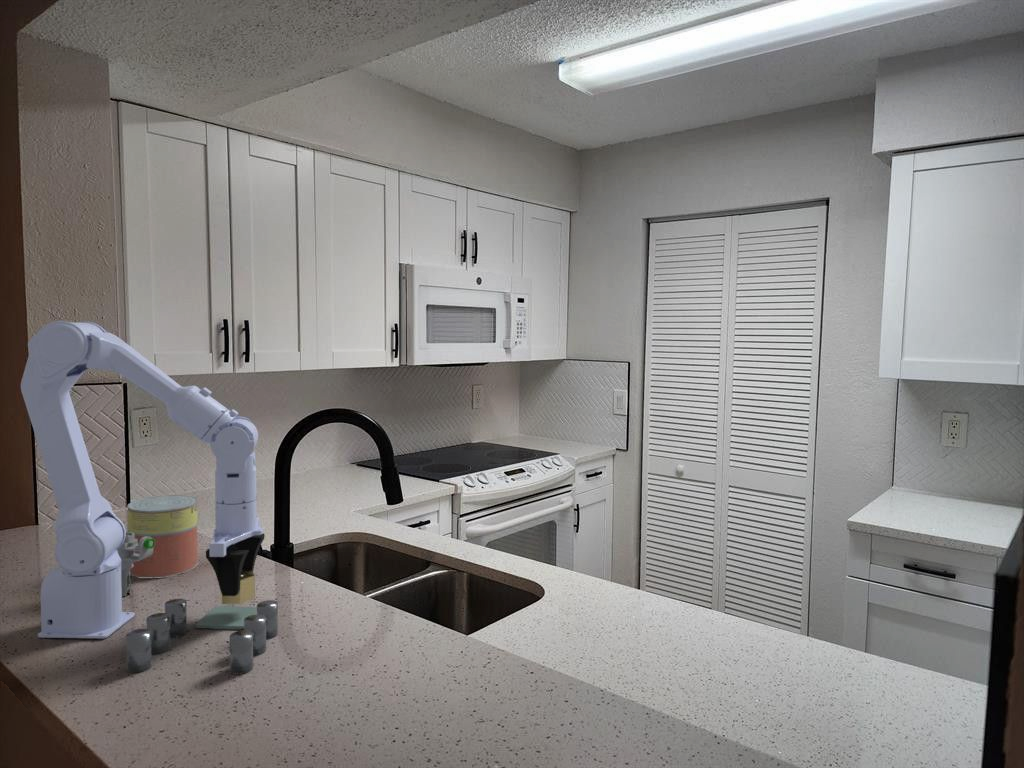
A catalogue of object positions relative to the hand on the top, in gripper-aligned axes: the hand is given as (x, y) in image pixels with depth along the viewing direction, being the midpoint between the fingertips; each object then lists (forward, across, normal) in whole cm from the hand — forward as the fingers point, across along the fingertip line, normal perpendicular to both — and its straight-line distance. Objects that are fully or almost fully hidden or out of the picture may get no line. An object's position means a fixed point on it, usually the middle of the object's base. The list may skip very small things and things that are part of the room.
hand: (236, 588), depth 102 cm
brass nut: (+2, 0, 0) cm, 2 cm away
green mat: (+5, 0, 0) cm, 5 cm away
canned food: (+5, +21, +21) cm, 30 cm away
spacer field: (+4, -10, 0) cm, 11 cm away
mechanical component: (+5, +8, +21) cm, 23 cm away
